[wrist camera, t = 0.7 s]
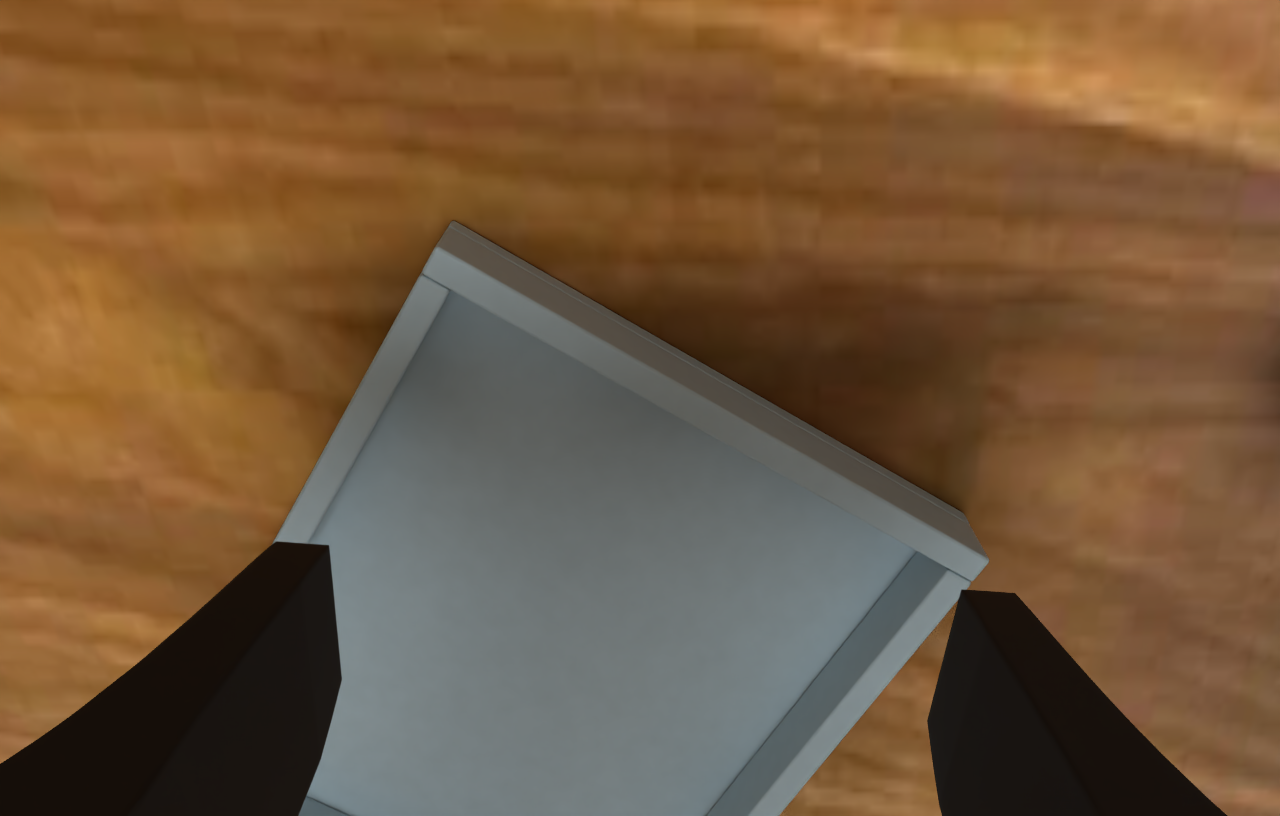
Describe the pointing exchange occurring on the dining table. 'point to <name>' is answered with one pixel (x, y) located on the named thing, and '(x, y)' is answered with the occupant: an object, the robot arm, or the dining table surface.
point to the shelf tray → (597, 567)
